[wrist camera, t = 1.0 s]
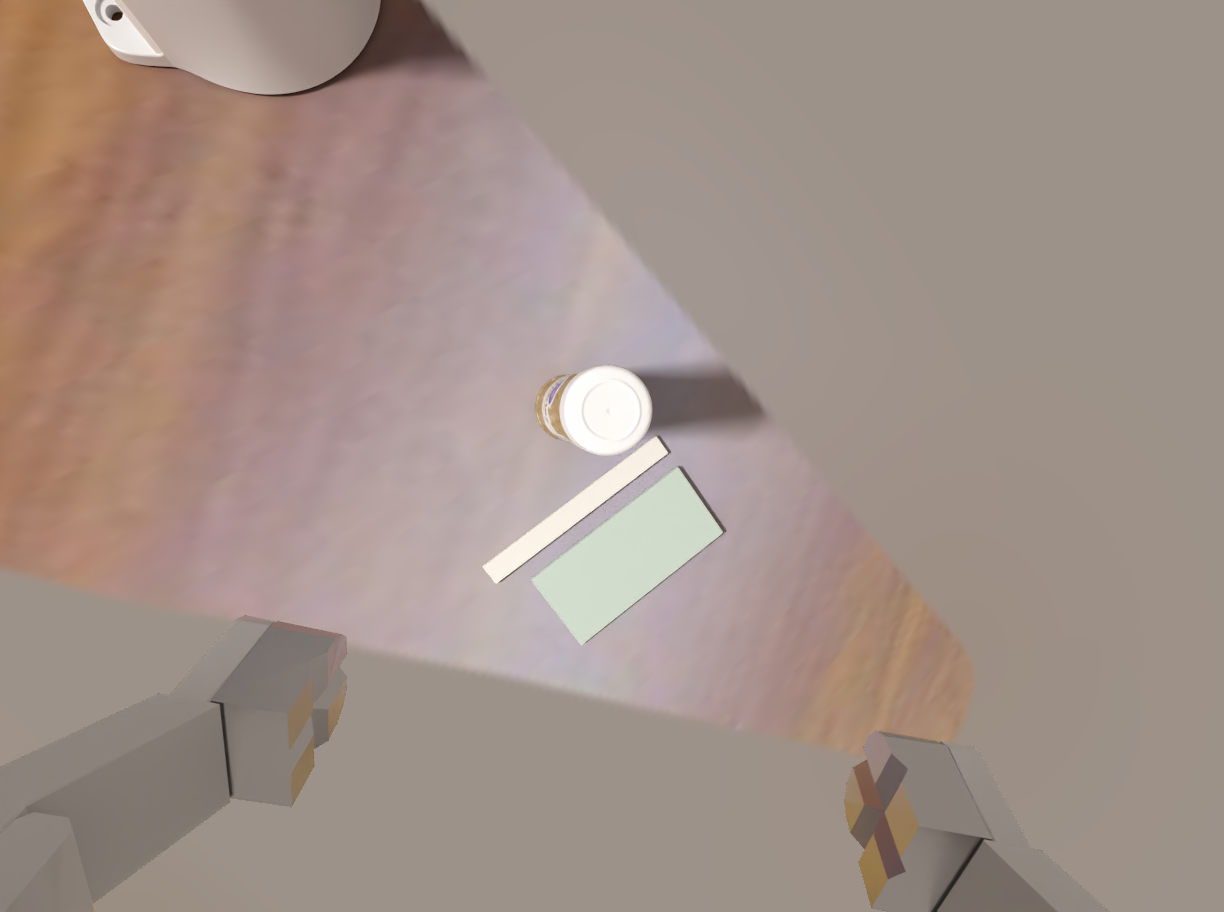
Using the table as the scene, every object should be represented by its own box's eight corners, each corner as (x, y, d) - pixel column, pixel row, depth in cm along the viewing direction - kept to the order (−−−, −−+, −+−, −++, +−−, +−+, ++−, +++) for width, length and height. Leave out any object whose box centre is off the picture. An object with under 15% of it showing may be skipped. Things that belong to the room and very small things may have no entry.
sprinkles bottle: (544, 367, 45) (579, 352, 32) (607, 386, 46) (665, 378, 33) (526, 432, 45) (553, 443, 32) (589, 449, 47) (640, 467, 33)
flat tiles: (482, 566, 45) (482, 567, 45) (655, 435, 47) (656, 436, 47) (557, 661, 47) (558, 663, 47) (721, 531, 49) (723, 532, 49)
